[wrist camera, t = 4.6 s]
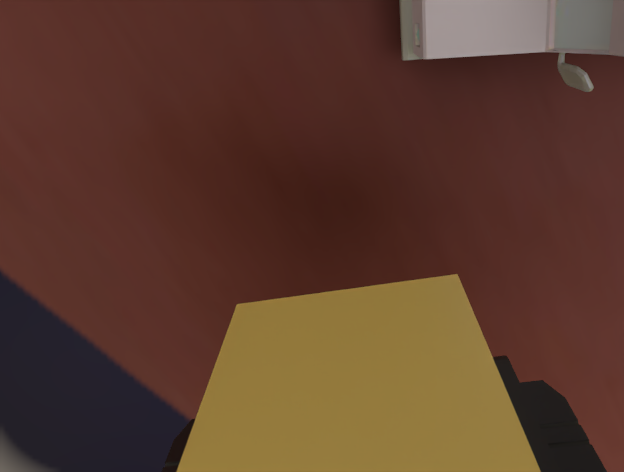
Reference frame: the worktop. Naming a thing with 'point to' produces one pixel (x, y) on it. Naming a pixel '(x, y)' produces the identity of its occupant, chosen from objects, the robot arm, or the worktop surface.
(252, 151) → the worktop surface
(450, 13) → the toy vehicle
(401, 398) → the block
